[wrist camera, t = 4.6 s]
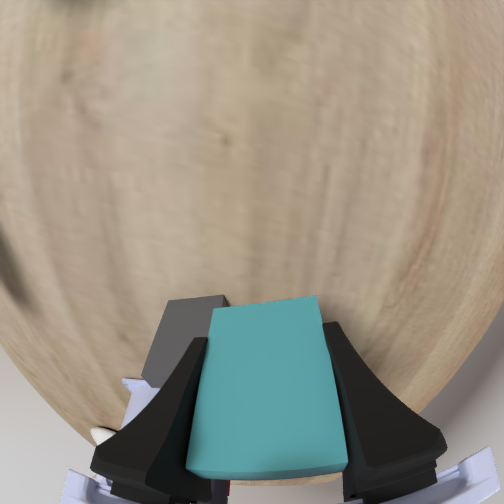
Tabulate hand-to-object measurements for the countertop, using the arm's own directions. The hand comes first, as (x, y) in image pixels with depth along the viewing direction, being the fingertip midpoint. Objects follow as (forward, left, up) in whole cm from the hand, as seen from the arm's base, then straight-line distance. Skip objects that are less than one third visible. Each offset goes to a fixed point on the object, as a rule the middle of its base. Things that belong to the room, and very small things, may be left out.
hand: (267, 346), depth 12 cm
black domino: (-5, +7, -9) cm, 13 cm away
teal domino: (0, 0, -2) cm, 2 cm away
